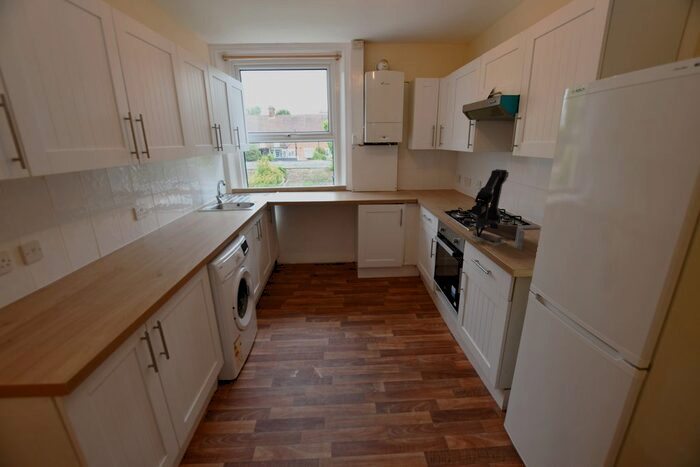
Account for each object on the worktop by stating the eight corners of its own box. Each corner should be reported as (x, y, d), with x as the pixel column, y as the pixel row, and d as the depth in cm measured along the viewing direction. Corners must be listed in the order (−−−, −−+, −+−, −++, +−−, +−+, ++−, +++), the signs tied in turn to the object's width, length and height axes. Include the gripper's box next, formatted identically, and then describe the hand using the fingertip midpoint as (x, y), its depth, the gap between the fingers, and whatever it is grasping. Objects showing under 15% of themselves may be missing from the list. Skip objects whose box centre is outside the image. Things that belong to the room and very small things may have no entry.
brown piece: (476, 233, 192) (479, 218, 189) (518, 238, 183) (521, 223, 180) (475, 244, 174) (477, 227, 171) (521, 250, 165) (524, 233, 162)
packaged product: (470, 230, 185) (481, 227, 189) (469, 237, 186) (480, 235, 191) (496, 239, 170) (507, 236, 175) (495, 246, 172) (506, 243, 176)
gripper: (464, 213, 172) (460, 238, 177) (500, 217, 165) (495, 243, 170) (465, 209, 182) (462, 233, 187) (499, 212, 175) (495, 238, 180)
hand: (478, 237), depth 181 cm, fingers closed
